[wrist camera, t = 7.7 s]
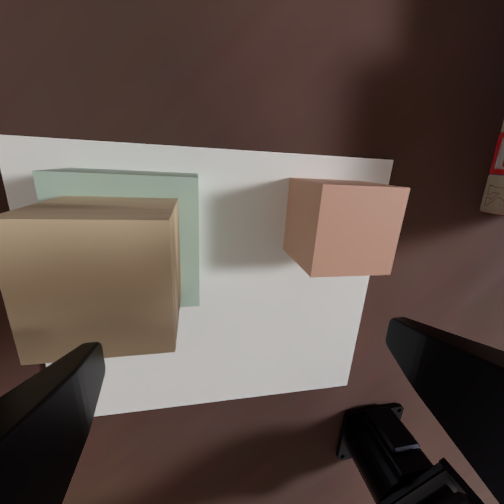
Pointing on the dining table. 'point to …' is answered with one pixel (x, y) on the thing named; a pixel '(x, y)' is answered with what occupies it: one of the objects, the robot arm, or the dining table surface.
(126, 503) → the dining table surface
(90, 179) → the pedestal
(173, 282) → the beech cube
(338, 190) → the terracotta cube
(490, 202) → the stack of blocks
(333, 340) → the board
